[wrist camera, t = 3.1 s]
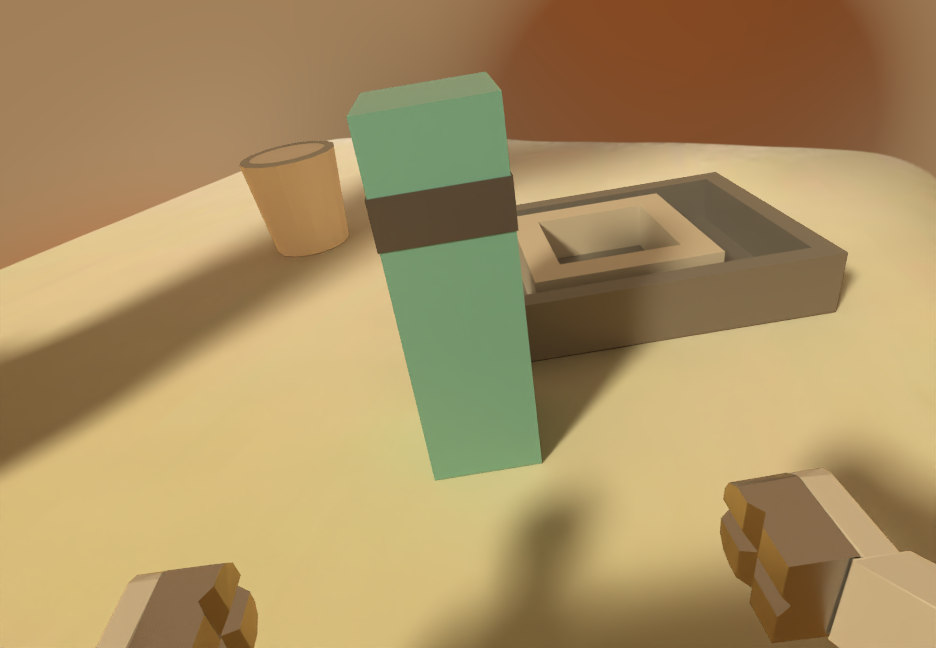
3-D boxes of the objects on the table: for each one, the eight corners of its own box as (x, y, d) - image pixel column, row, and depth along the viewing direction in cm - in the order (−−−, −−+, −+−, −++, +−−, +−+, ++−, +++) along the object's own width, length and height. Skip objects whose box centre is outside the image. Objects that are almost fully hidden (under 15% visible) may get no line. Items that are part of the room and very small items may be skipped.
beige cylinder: (302, 224, 49) (276, 141, 45) (372, 224, 46) (351, 136, 43) (251, 259, 44) (217, 168, 40) (327, 261, 41) (298, 164, 38)
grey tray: (452, 374, 27) (442, 319, 25) (442, 261, 38) (435, 218, 36) (835, 311, 27) (848, 252, 25) (712, 216, 38) (715, 172, 36)
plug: (433, 481, 21) (344, 117, 15) (431, 411, 25) (359, 92, 18) (543, 463, 21) (503, 90, 15) (525, 396, 25) (487, 71, 18)
